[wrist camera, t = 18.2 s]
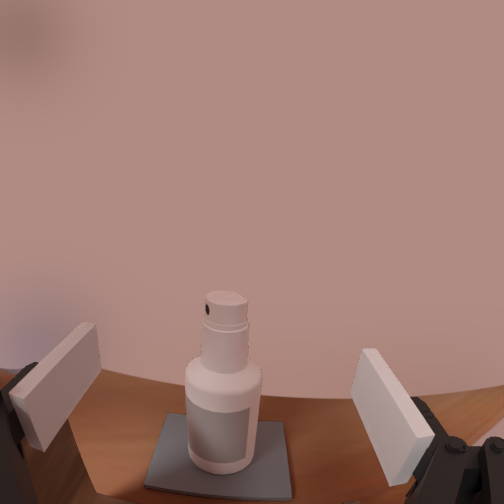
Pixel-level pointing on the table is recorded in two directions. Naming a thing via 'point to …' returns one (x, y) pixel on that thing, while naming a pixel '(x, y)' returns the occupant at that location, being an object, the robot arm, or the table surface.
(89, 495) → the rack
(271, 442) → the mat
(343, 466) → the table surface
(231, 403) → the spray bottle
